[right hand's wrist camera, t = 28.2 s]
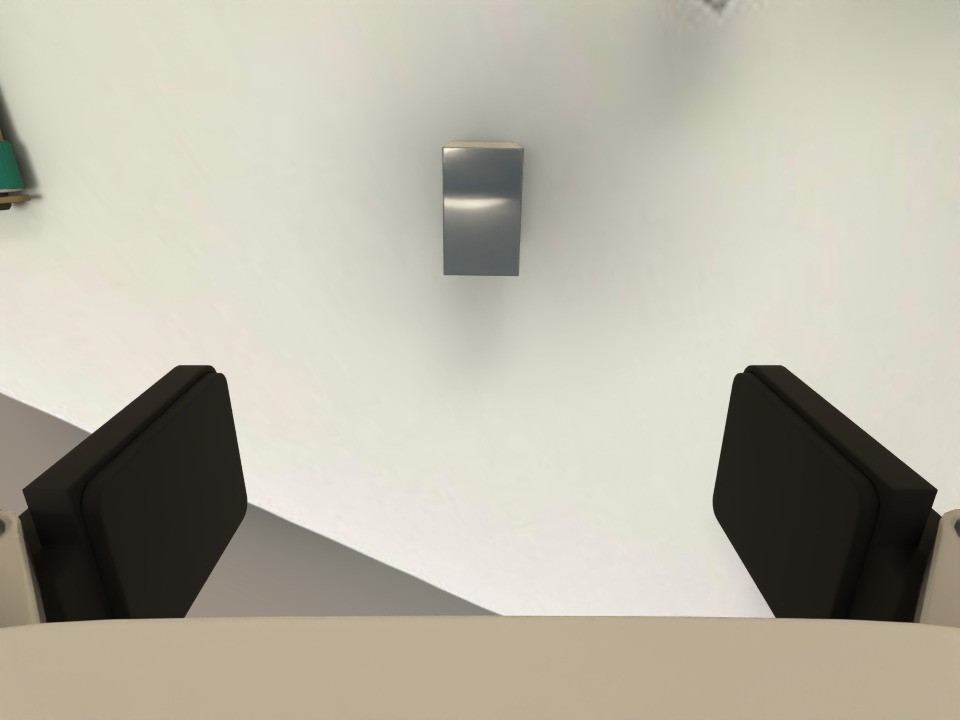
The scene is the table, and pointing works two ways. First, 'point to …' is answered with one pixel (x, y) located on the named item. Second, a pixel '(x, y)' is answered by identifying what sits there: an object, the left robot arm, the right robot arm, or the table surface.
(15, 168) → the green toy blaster
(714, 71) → the table surface
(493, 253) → the brick
